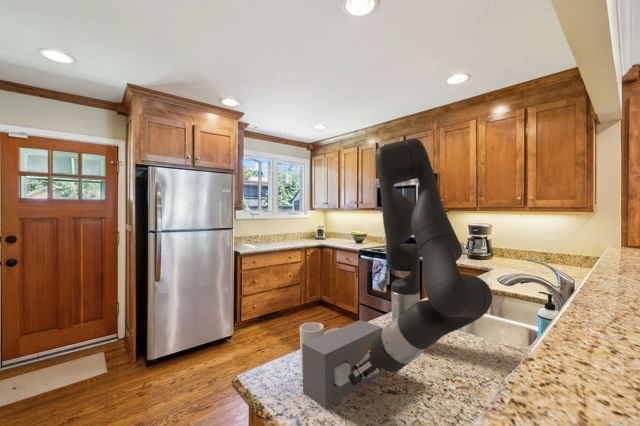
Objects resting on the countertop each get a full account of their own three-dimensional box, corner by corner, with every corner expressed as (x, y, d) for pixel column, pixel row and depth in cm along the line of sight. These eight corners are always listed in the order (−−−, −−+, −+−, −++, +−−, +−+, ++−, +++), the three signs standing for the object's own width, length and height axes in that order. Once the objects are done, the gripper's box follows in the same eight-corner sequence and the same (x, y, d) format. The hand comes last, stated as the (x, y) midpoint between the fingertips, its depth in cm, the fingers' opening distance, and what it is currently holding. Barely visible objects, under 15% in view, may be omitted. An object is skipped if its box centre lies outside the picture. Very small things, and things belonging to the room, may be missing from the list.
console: (360, 360, 84) (359, 320, 84) (383, 371, 78) (382, 327, 78) (303, 392, 69) (302, 343, 69) (325, 408, 63) (324, 354, 63)
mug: (328, 372, 78) (327, 328, 78) (305, 378, 75) (304, 333, 75) (314, 356, 87) (313, 317, 87) (293, 361, 84) (292, 320, 84)
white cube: (339, 374, 69) (339, 359, 69) (350, 380, 67) (350, 364, 67) (329, 380, 67) (328, 364, 67) (339, 386, 64) (339, 370, 64)
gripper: (404, 317, 61) (361, 354, 70) (366, 335, 53) (322, 375, 61) (428, 349, 58) (379, 384, 66) (391, 375, 49) (341, 411, 57)
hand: (352, 380), depth 64 cm, fingers closed
